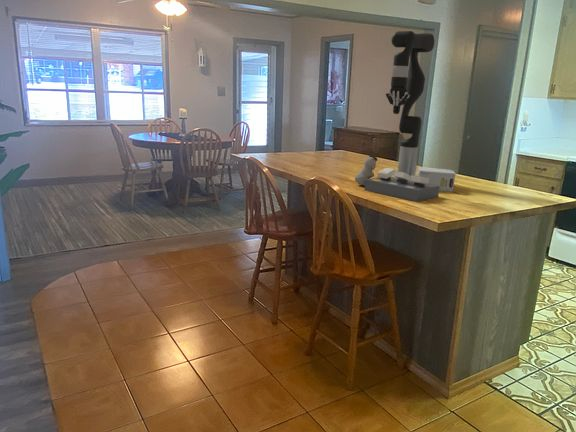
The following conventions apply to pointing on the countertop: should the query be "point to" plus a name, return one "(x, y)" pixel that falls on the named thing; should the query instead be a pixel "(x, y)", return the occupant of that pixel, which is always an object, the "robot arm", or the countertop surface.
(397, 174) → the switch
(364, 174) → the figurine
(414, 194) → the grey tray
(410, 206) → the countertop surface
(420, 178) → the switch
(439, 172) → the supplement box
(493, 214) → the countertop surface
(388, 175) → the switch
